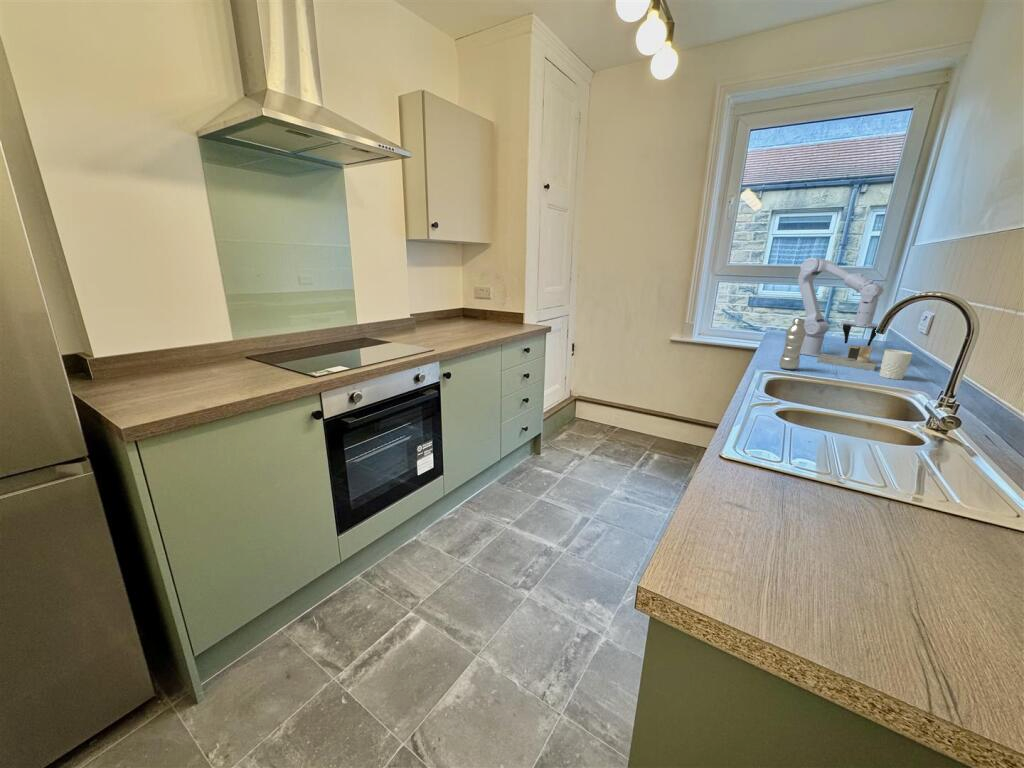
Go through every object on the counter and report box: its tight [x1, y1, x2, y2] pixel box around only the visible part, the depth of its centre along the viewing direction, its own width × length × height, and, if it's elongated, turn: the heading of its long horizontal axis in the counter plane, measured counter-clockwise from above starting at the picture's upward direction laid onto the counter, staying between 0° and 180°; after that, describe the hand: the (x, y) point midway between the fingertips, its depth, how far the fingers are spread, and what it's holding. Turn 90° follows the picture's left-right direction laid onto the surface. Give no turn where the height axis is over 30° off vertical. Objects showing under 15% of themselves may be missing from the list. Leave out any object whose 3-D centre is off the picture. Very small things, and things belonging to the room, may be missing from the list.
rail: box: [816, 353, 878, 372], centre depth 173 cm, size 19×8×3 cm, turn 45°
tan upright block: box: [855, 345, 873, 363], centre depth 168 cm, size 4×4×7 cm
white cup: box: [878, 349, 914, 380], centre depth 154 cm, size 8×8×10 cm
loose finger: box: [846, 344, 861, 358], centre depth 177 cm, size 4×4×7 cm
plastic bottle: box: [778, 317, 806, 370], centre depth 160 cm, size 6×7×20 cm
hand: (856, 344), depth 176 cm, fingers open, 7 cm apart
